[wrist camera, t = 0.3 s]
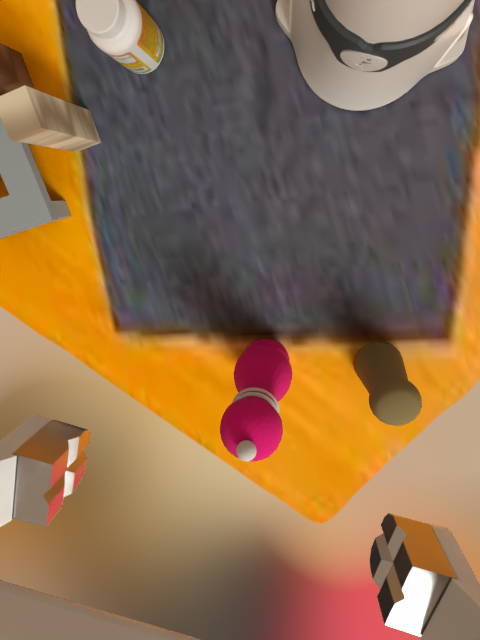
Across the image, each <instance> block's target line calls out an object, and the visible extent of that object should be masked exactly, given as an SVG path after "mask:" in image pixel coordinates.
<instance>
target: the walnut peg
mask: <svg viewBox="0 0 480 640" xmlns="http://www.w3.org/2000/svg"><path fill="white" fill-rule="evenodd" d="M24 85H26V86H28V87H31V88H34V86H33V84H32V81H31V78H30V76H29V73H28V71H27V68H26V65H25V63H24V60H23V58H22V55H21V53H19V52H17V51H15V50H13V49H11V48H9V47H7V46H5V45H3V44H1V43H0V95H4V94H6V93H8V92H11V91H13V90H15V89H18V88H20V87H22V86H24Z"/></svg>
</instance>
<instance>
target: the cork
mask: <svg viewBox="0 0 480 640" xmlns="http://www.w3.org/2000/svg"><path fill="white" fill-rule="evenodd" d="M354 367H355V371H356V373H357V375H358V377H359V378H360V380H361V381H362V383H363V385H364V386H365V388H366V389H367V391H368V392H369V394H370V395H369V405H370V408H371V410H372V412H373V414H374V415H375V416H376V417H377V418H378V419H379V420H380V421H382V422H384V423H386V424H389V425H394V426H401V425H405V424H408V423H410V422H411V421H413V420H414V419H415V418H416V417H417V416H418V414H419V413H420V410H421V407H422V402H421V396H420V393H419V391H418V390H417V388H416V387H415V386H414V385H413V384H412V383H411V382H409V381H408V378H407V374H406V370H405V366H404V363H403V359H402V356H401V354H400V352H399V351H398V350H397V349H396V348H395V347H394V346H392V345H390V344H387V343H382V342H378V343H372V344H369V345H367V346H365V347H364V348H362V349H361V350H360V351H359V352H358V354H357V355H356V357H355V361H354Z"/></svg>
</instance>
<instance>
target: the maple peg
mask: <svg viewBox="0 0 480 640" xmlns="http://www.w3.org/2000/svg"><path fill="white" fill-rule="evenodd" d="M0 117H1V119H2V122H3V124H4V127H5V129H6V131H7V134H8V136H9V139H10V140H12V141H18V142H23V143H29V144H34V145H40V146H45V147H51V148H56V149H62V150H67V151H73V152H77V151H80V150H83V149H85V148H88V147H91V146H93V145H96V144H99V143H101V141H100V138H99V135H98V132H97V130H96V127H95V124H94V121H93V118H92V115H91V112H90V110H87V109H85V108H82V107H80V106H77V105H74V104H72V103H69V102H67V101H64V100H62V99H59V98H56V97H54V96H51V95H49V94H46V93H44V92H41V91H38V90H36V89H33V88H31V87H28V86H26V85H24V86H22V87H20V88H18V89H15V90H13V91H11V92H8V93H6V94H4V95H1V96H0Z"/></svg>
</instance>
